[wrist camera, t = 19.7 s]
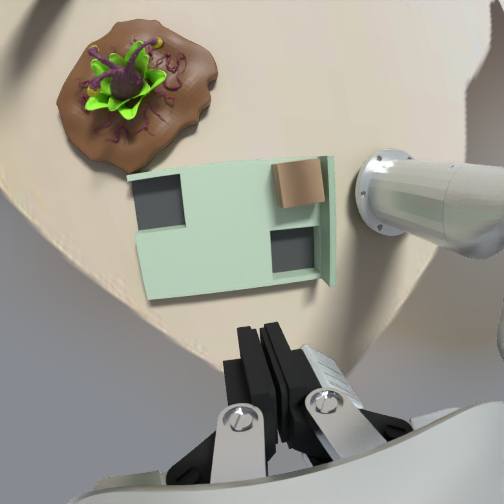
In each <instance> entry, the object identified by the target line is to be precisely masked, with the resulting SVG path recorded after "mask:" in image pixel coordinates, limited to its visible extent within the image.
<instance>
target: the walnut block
mask: <svg viewBox="0 0 504 504" xmlns="http://www.w3.org/2000/svg"><path fill="white" fill-rule="evenodd" d="M271 166H272V172H273V178H274V185H275V191H276V198H277V204H278V206H280V207H282V208H289V207H295V206H301V205H307V204H313V203H319V202H325V196H324V188H323V180H322V172H321V165H320V159H307V160H299V161H291V162H284V163H277V164H271Z"/></svg>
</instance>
